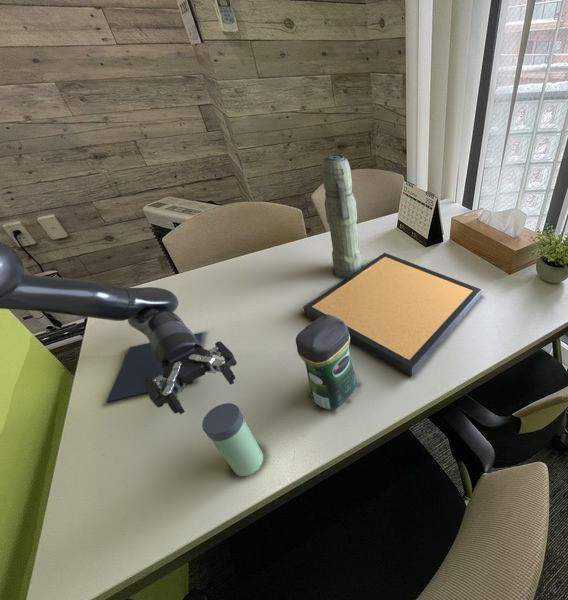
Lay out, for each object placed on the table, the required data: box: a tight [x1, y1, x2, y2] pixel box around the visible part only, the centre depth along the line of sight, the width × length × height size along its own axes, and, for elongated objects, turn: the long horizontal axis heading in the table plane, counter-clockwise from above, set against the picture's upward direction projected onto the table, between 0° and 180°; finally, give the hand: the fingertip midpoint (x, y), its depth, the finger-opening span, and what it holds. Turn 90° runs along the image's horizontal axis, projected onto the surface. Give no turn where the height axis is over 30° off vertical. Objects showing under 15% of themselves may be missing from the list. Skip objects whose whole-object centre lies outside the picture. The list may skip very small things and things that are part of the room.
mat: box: [106, 332, 204, 404], centre depth 75 cm, size 16×16×1 cm
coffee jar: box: [295, 314, 358, 410], centre depth 63 cm, size 10×8×19 cm
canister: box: [201, 402, 264, 477], centre depth 53 cm, size 5×5×14 cm
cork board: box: [302, 252, 483, 377], centre depth 90 cm, size 36×3×35 cm
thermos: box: [321, 154, 363, 279], centre depth 94 cm, size 9×12×35 cm
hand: (207, 395), depth 57 cm, fingers open, 8 cm apart
